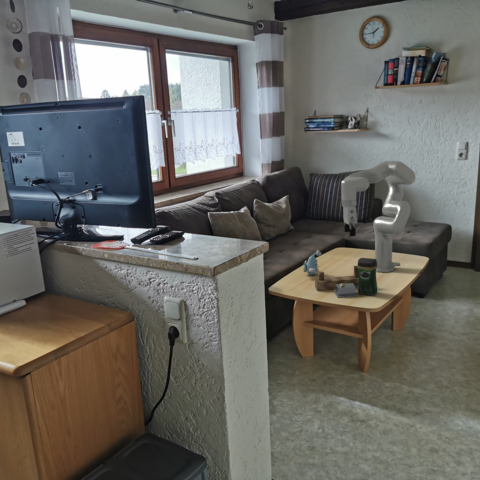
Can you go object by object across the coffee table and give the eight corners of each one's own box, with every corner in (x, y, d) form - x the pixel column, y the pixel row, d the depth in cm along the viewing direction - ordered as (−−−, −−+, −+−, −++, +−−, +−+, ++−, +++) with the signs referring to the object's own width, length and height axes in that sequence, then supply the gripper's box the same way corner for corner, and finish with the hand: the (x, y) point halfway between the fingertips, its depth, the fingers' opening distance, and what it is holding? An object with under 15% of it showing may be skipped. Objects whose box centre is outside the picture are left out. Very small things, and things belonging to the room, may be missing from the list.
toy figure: (321, 279, 277) (320, 253, 273) (302, 279, 279) (301, 254, 276) (322, 270, 293) (321, 246, 289) (304, 270, 295) (303, 246, 291)
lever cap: (352, 290, 254) (352, 281, 253) (355, 294, 248) (355, 284, 247) (335, 291, 254) (335, 282, 253) (338, 295, 248) (338, 286, 247)
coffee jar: (379, 292, 251) (379, 257, 247) (374, 296, 245) (374, 261, 240) (360, 289, 256) (360, 255, 252) (355, 294, 250) (355, 259, 246)
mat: (352, 290, 256) (352, 289, 255) (357, 296, 247) (357, 295, 247) (333, 291, 255) (333, 290, 255) (337, 297, 247) (337, 296, 246)
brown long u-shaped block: (362, 283, 265) (362, 264, 263) (365, 287, 259) (365, 267, 257) (315, 287, 264) (314, 267, 262) (317, 290, 258) (316, 271, 256)
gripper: (360, 204, 251) (361, 237, 255) (351, 199, 268) (352, 229, 272) (346, 206, 251) (347, 238, 255) (337, 200, 267) (339, 231, 272)
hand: (350, 233), depth 263 cm, fingers open, 9 cm apart
